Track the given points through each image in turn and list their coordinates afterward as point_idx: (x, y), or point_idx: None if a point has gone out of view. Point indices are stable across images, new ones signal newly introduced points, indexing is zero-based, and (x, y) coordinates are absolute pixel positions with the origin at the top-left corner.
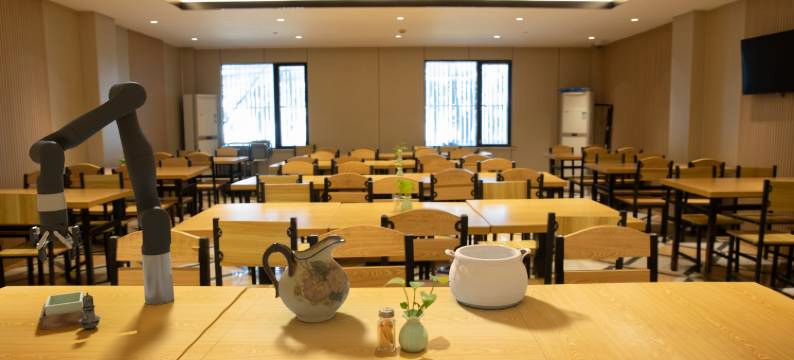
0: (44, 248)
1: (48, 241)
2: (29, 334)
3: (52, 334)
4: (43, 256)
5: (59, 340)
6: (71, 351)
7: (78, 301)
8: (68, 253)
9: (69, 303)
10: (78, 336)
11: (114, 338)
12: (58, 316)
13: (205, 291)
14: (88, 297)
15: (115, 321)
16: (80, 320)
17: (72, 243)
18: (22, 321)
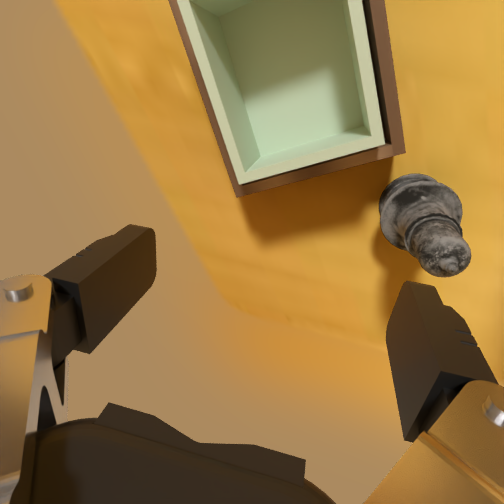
0: (75, 297)
1: (42, 339)
2: (221, 192)
3: (292, 208)
4: (133, 291)
5: (330, 262)
6: (385, 341)
7: (367, 138)
8: (396, 392)
9: (330, 158)
10: (380, 245)
11: (501, 289)
12: (295, 181)
13: None
14: (453, 275)
15: (501, 118)
16: (388, 228)
17: (486, 452)
18: (131, 48)
